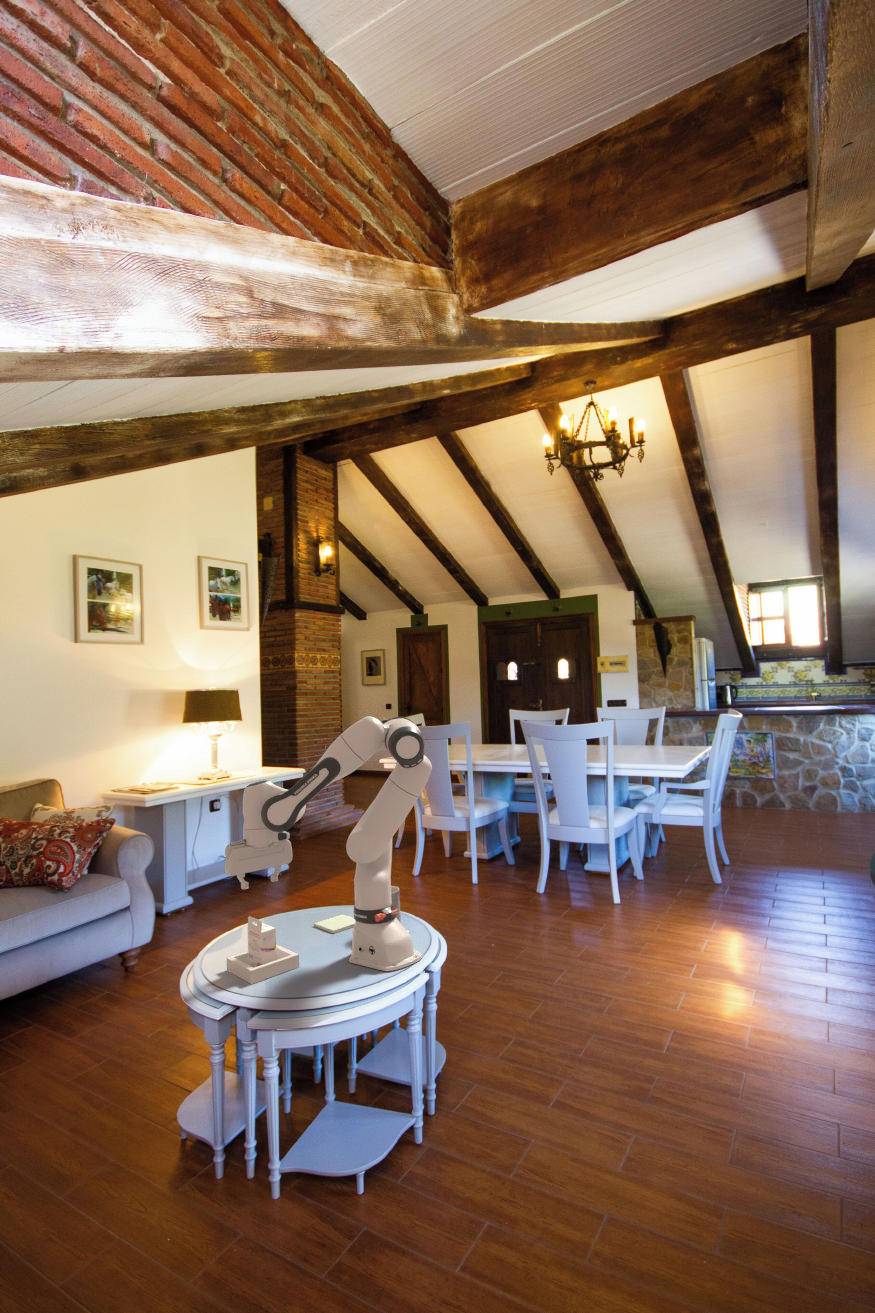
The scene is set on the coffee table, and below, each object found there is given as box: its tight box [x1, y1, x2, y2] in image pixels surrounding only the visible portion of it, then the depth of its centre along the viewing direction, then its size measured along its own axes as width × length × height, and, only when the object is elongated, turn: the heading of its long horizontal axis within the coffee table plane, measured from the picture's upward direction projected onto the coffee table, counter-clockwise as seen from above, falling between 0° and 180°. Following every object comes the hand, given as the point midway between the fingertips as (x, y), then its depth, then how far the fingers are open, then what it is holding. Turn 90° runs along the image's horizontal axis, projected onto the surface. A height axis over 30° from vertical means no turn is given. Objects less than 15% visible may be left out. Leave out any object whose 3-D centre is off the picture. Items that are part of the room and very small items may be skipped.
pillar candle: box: [391, 885, 402, 924], centre depth 214 cm, size 10×10×15 cm
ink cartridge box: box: [247, 916, 277, 968], centre depth 189 cm, size 9×5×15 cm, turn 45°
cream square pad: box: [313, 913, 355, 935], centre depth 223 cm, size 12×12×1 cm
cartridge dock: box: [225, 943, 300, 985], centre depth 188 cm, size 15×15×4 cm
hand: (259, 885), depth 190 cm, fingers open, 8 cm apart
